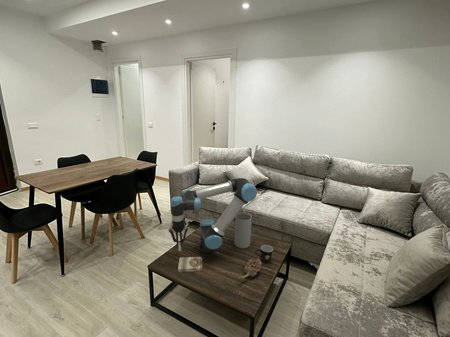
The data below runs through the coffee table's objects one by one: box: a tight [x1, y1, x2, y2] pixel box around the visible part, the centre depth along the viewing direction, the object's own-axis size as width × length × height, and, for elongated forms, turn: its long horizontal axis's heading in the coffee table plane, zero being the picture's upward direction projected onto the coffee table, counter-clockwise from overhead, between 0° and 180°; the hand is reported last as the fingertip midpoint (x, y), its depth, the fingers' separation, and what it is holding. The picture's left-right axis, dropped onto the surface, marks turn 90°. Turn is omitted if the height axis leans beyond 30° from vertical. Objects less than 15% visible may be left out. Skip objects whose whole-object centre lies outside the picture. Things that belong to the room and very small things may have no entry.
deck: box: [177, 256, 203, 273], centre depth 168 cm, size 16×12×2 cm
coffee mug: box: [255, 244, 274, 264], centre depth 175 cm, size 12×9×10 cm
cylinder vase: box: [234, 212, 253, 249], centre depth 191 cm, size 12×12×25 cm
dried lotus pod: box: [238, 258, 262, 280], centre depth 158 cm, size 22×10×10 cm, turn 144°
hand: (179, 249), depth 167 cm, fingers closed
